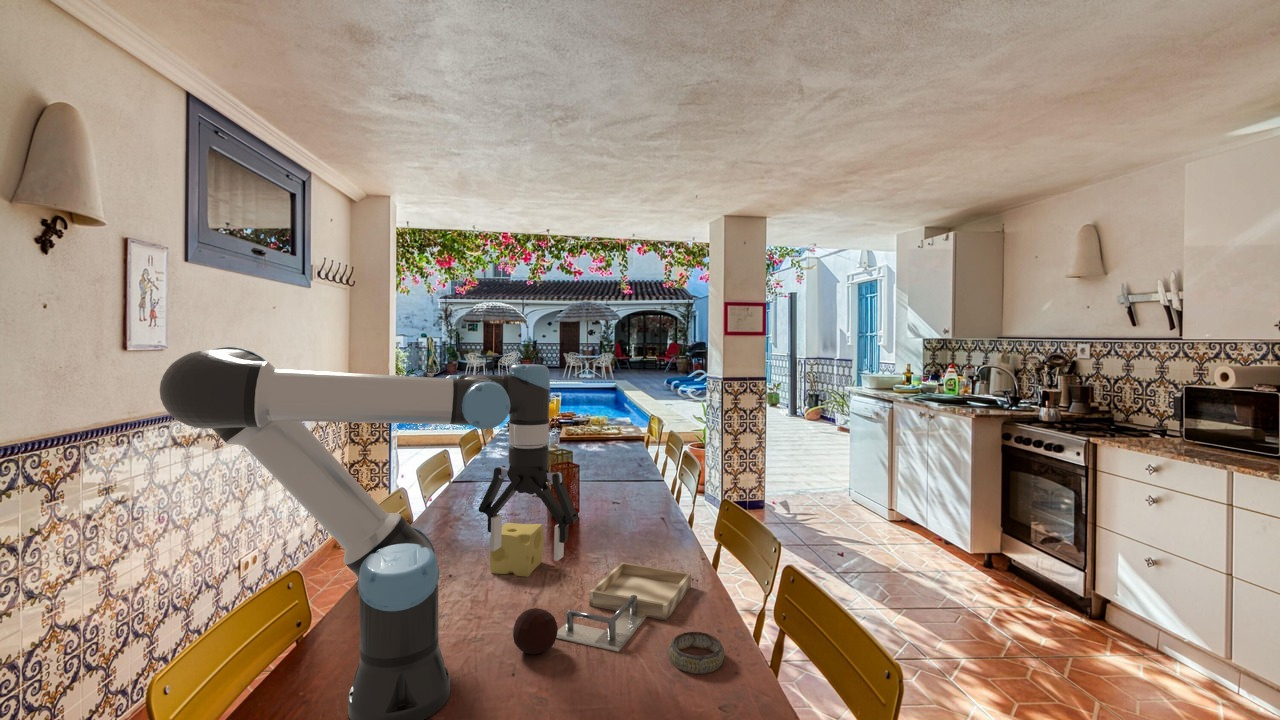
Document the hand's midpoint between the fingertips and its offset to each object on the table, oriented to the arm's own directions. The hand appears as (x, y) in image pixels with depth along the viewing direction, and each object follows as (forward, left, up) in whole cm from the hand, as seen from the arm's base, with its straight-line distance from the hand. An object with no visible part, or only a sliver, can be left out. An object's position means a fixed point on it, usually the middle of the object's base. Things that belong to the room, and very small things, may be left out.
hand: (526, 553), depth 115 cm
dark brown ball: (-4, -4, -16) cm, 18 cm away
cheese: (+28, +21, -17) cm, 38 cm away
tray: (+25, -14, -16) cm, 33 cm away
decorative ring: (+4, -33, -17) cm, 37 cm away
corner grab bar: (+9, -12, -16) cm, 22 cm away
